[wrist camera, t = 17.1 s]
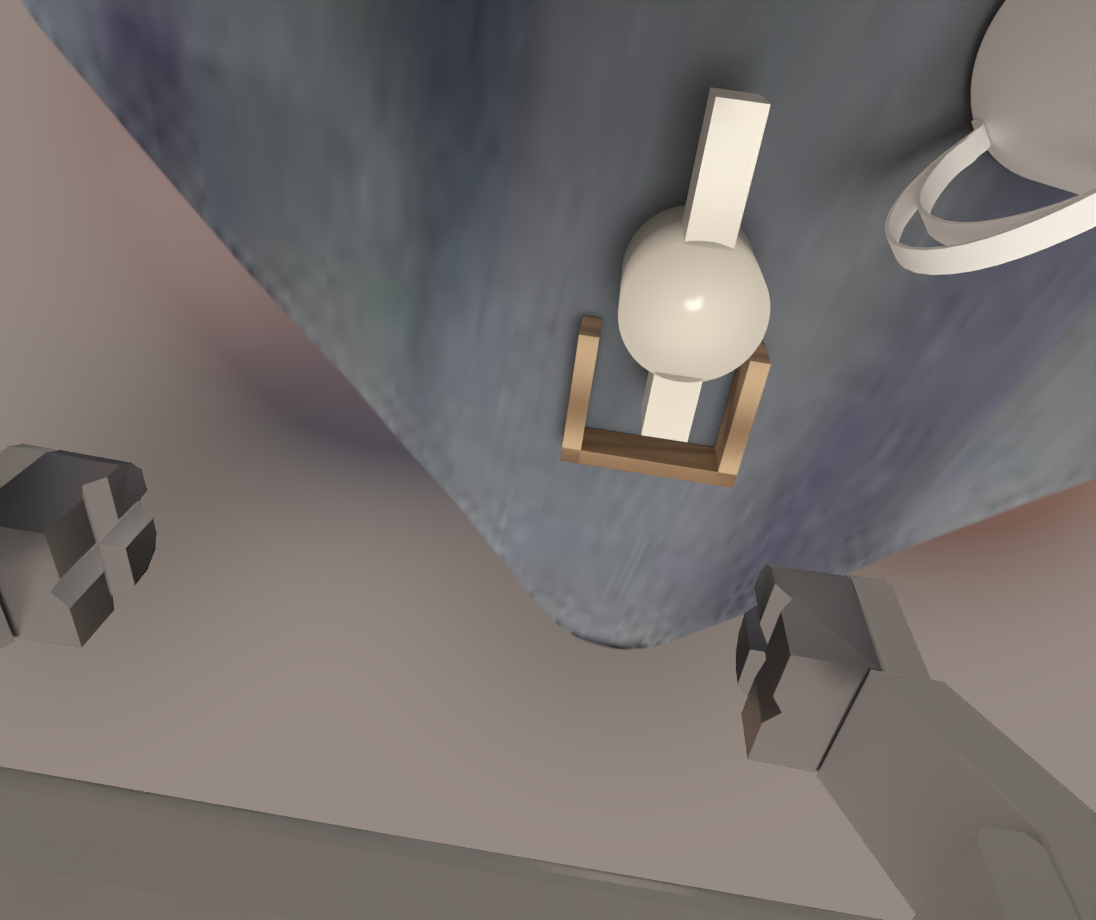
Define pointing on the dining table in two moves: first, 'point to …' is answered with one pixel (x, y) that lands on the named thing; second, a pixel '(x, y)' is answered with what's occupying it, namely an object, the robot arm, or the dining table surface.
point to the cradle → (659, 453)
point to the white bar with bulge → (698, 273)
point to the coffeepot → (1017, 139)
